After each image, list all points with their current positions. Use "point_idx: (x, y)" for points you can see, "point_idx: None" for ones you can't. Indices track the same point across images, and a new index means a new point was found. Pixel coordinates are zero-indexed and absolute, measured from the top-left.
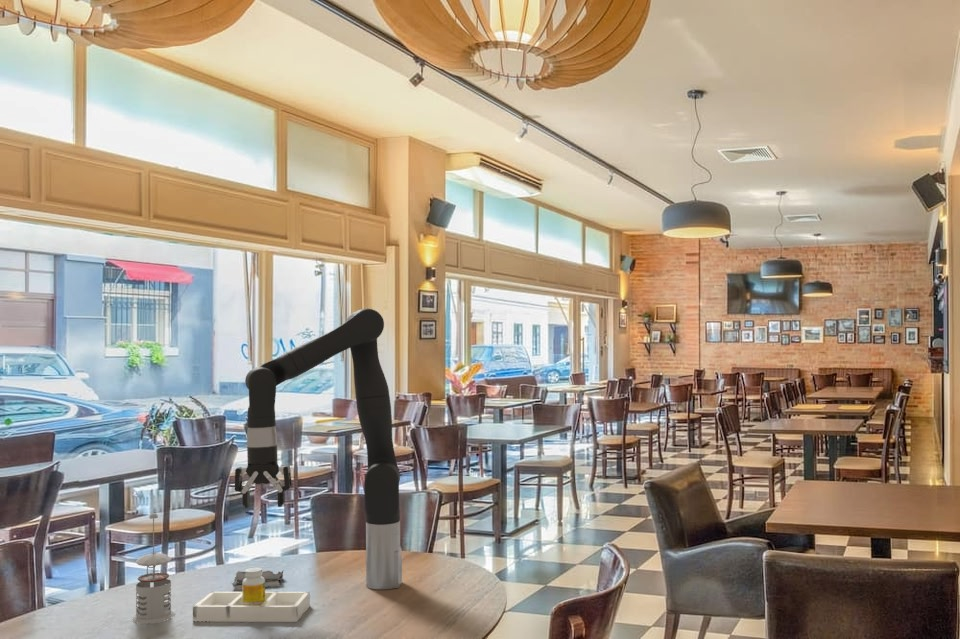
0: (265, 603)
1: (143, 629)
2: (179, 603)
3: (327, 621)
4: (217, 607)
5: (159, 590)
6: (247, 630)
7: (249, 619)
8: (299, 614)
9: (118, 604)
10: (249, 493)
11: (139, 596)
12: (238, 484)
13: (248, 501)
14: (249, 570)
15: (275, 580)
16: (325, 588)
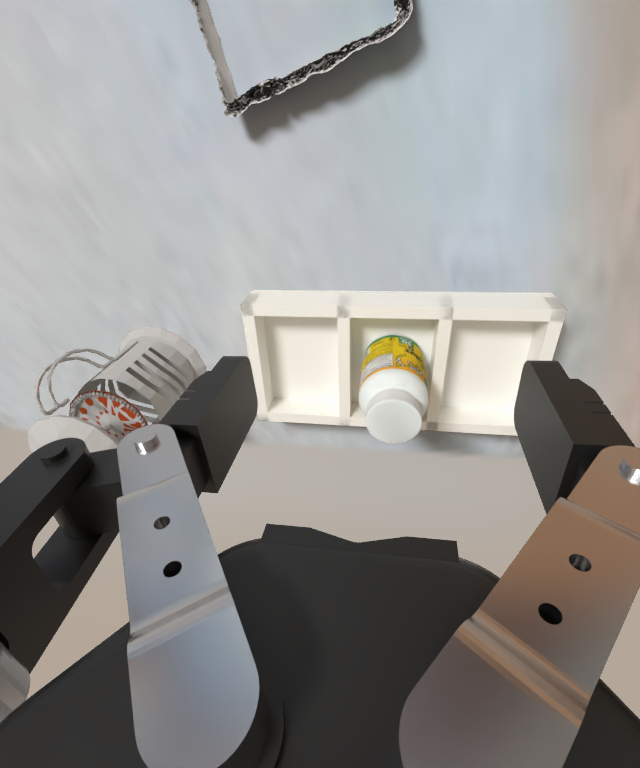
0: (437, 408)
1: None
2: (153, 269)
3: None
4: (319, 423)
5: None
6: (410, 451)
7: None
8: None
9: (8, 279)
10: (203, 429)
11: (101, 388)
12: (80, 577)
13: (238, 417)
14: (381, 428)
15: (384, 28)
16: (620, 54)
